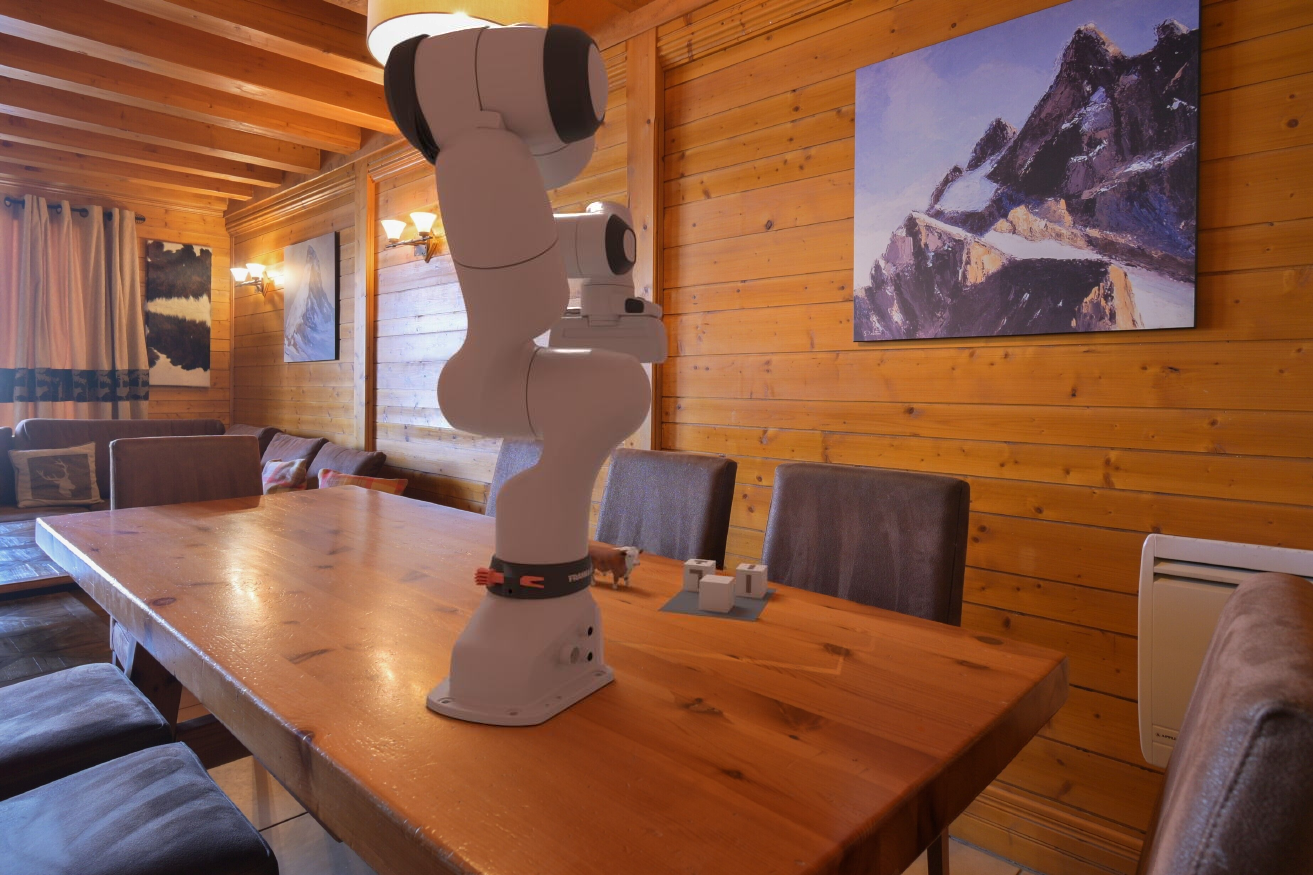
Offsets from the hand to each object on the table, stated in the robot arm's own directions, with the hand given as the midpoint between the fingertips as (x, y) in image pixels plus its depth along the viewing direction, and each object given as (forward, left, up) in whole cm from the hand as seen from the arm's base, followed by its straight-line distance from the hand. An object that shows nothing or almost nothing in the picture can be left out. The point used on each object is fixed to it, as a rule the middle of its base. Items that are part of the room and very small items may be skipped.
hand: (606, 391), depth 122 cm
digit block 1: (+8, -23, -34) cm, 42 cm away
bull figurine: (+4, 0, -34) cm, 35 cm away
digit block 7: (+8, -14, -34) cm, 37 cm away
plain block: (-2, -20, -34) cm, 39 cm away
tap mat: (+3, -19, -34) cm, 39 cm away
